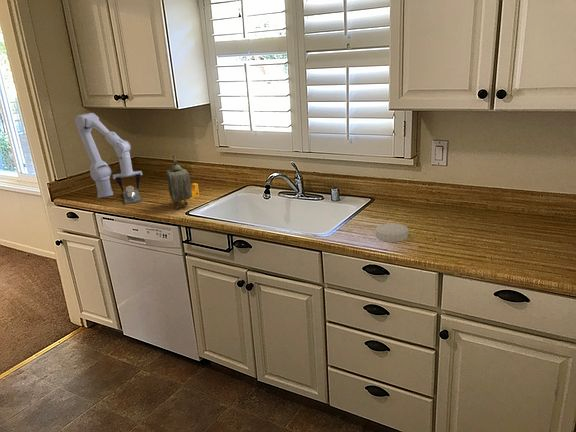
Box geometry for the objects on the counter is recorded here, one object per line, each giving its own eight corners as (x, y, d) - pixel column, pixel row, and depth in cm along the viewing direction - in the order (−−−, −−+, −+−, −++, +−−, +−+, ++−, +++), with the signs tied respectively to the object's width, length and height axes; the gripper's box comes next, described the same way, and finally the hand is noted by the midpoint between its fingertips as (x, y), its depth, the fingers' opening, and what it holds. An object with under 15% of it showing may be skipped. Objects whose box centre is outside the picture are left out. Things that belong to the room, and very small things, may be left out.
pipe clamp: (193, 194, 248) (192, 182, 246) (199, 195, 245) (197, 183, 243) (176, 201, 239) (174, 188, 237) (181, 202, 236) (180, 189, 234)
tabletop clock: (170, 203, 236) (163, 154, 228) (188, 200, 239) (182, 151, 231) (175, 211, 223) (167, 159, 215) (194, 207, 226) (187, 156, 218)
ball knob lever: (126, 192, 256) (125, 187, 255) (134, 191, 258) (133, 185, 257) (128, 199, 243) (127, 193, 242) (136, 198, 244) (135, 192, 243)
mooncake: (405, 243, 170) (405, 234, 169) (372, 240, 175) (372, 231, 174) (410, 231, 181) (410, 223, 179) (379, 229, 185) (379, 220, 184)
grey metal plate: (122, 193, 260) (121, 186, 258) (137, 190, 262) (136, 184, 261) (125, 204, 239) (123, 196, 238) (141, 201, 242) (140, 194, 240)
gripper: (111, 168, 239) (116, 194, 243) (140, 164, 244) (145, 189, 248) (110, 165, 245) (115, 190, 250) (139, 161, 250) (143, 186, 254)
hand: (130, 190), depth 249 cm, fingers open, 7 cm apart
